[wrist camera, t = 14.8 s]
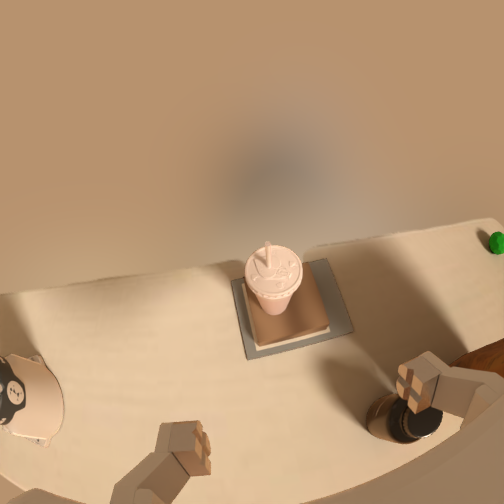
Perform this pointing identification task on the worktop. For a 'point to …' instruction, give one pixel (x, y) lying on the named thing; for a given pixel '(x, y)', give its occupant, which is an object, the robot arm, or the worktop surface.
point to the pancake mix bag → (484, 359)
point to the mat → (336, 328)
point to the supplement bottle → (401, 420)
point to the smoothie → (273, 276)
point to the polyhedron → (497, 243)
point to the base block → (290, 313)
